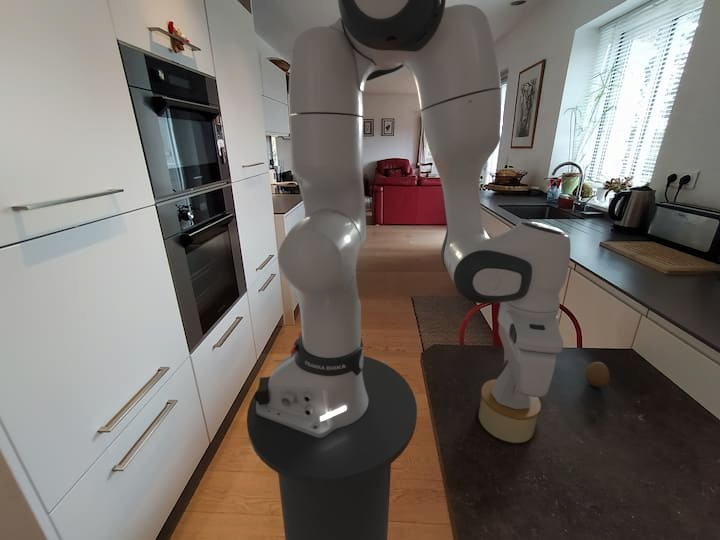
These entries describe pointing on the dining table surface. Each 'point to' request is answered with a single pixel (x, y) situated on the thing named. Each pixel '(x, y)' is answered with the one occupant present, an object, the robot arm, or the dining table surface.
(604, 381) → the egg
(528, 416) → the tea tin
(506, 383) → the flask
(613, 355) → the dining table surface
